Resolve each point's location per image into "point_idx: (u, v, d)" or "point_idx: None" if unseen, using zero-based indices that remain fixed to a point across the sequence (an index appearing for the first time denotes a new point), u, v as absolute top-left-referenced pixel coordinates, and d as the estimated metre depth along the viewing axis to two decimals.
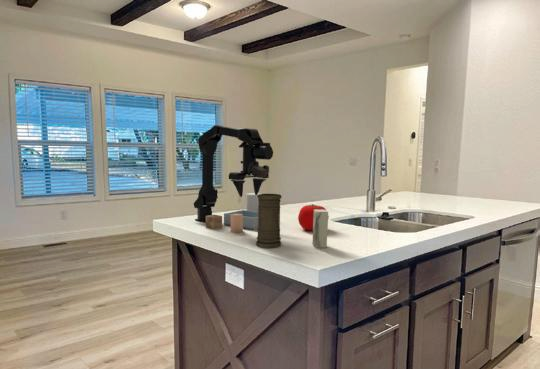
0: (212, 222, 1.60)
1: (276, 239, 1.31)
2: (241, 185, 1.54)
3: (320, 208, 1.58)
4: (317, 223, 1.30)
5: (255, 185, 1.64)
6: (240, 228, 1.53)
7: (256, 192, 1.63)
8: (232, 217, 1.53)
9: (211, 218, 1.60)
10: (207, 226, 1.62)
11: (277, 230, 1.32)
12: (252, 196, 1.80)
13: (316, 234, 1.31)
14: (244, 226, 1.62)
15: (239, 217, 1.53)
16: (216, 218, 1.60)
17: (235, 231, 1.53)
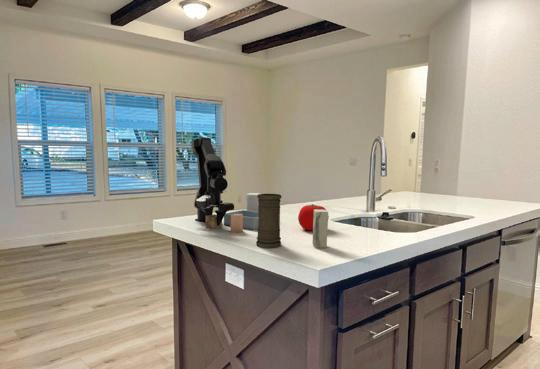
0: (212, 222, 1.60)
1: (276, 239, 1.31)
2: (205, 213, 1.64)
3: (320, 208, 1.58)
4: (317, 223, 1.30)
5: None
6: (240, 228, 1.53)
7: None
8: (232, 217, 1.53)
9: (211, 218, 1.60)
10: (207, 226, 1.62)
11: (277, 230, 1.32)
12: (252, 196, 1.80)
13: (316, 234, 1.31)
14: (244, 226, 1.62)
15: (239, 217, 1.53)
16: (216, 218, 1.60)
17: (235, 231, 1.53)
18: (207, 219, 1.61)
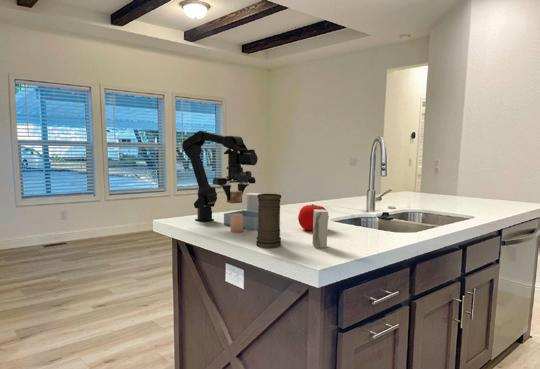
0: (240, 196, 1.66)
1: (276, 239, 1.31)
2: (228, 189, 1.64)
3: (320, 208, 1.58)
4: (317, 223, 1.30)
5: (239, 190, 1.70)
6: (240, 228, 1.53)
7: None
8: (232, 217, 1.53)
9: (239, 192, 1.66)
10: (234, 201, 1.65)
11: (277, 230, 1.32)
12: (252, 196, 1.80)
13: (316, 234, 1.31)
14: (244, 226, 1.62)
15: (239, 217, 1.53)
16: None
17: (235, 231, 1.53)
18: (234, 195, 1.65)
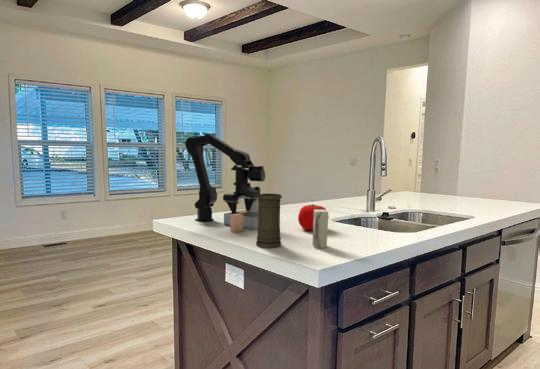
0: (248, 216, 1.71)
1: (276, 239, 1.31)
2: (235, 206, 1.65)
3: (320, 208, 1.58)
4: (317, 223, 1.30)
5: (246, 204, 1.75)
6: (240, 228, 1.53)
7: None
8: (232, 217, 1.53)
9: (247, 213, 1.70)
10: None
11: (277, 230, 1.32)
12: None
13: (316, 234, 1.31)
14: (244, 226, 1.62)
15: (239, 217, 1.53)
16: None
17: (235, 231, 1.53)
18: (243, 215, 1.68)
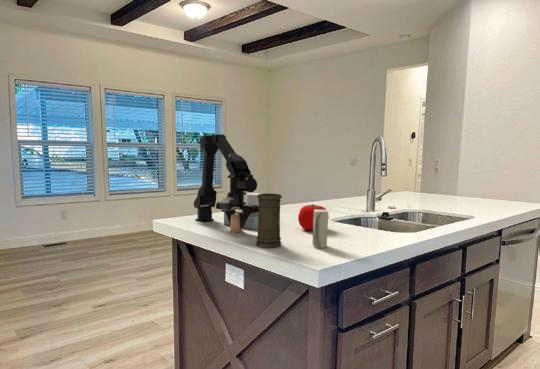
0: None
1: (276, 239, 1.31)
2: (227, 215, 1.56)
3: (320, 208, 1.58)
4: (317, 223, 1.30)
5: None
6: (240, 228, 1.53)
7: None
8: (232, 217, 1.53)
9: None
10: None
11: (277, 230, 1.32)
12: (252, 196, 1.80)
13: (316, 234, 1.31)
14: (244, 226, 1.62)
15: (239, 217, 1.53)
16: None
17: (235, 231, 1.53)
18: None
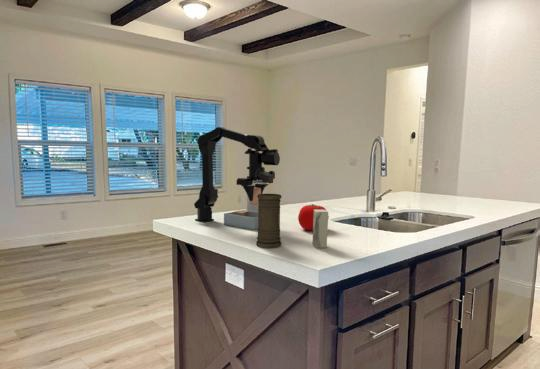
0: (248, 216, 1.71)
1: (276, 239, 1.31)
2: (252, 190, 1.61)
3: (320, 208, 1.58)
4: (317, 223, 1.30)
5: None
6: None
7: None
8: (259, 190, 1.63)
9: (247, 213, 1.70)
10: None
11: (277, 230, 1.32)
12: None
13: (316, 234, 1.31)
14: (244, 226, 1.62)
15: None
16: None
17: None
18: (243, 215, 1.68)
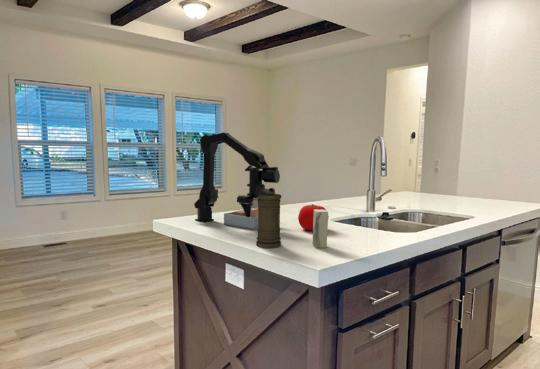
0: None
1: (276, 239, 1.31)
2: (249, 208, 1.60)
3: (320, 208, 1.58)
4: (317, 223, 1.30)
5: None
6: None
7: None
8: None
9: None
10: None
11: (277, 230, 1.32)
12: None
13: (316, 234, 1.31)
14: (244, 226, 1.62)
15: None
16: None
17: None
18: (243, 215, 1.68)
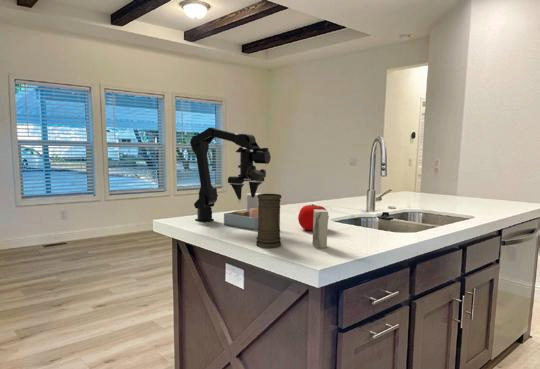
0: (248, 216, 1.71)
1: (276, 239, 1.31)
2: (240, 188, 1.61)
3: (320, 208, 1.58)
4: (317, 223, 1.30)
5: (251, 188, 1.71)
6: None
7: (253, 195, 1.70)
8: None
9: (247, 213, 1.70)
10: None
11: (277, 230, 1.32)
12: None
13: (316, 234, 1.31)
14: (244, 226, 1.62)
15: None
16: None
17: None
18: (243, 215, 1.68)
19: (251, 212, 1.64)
